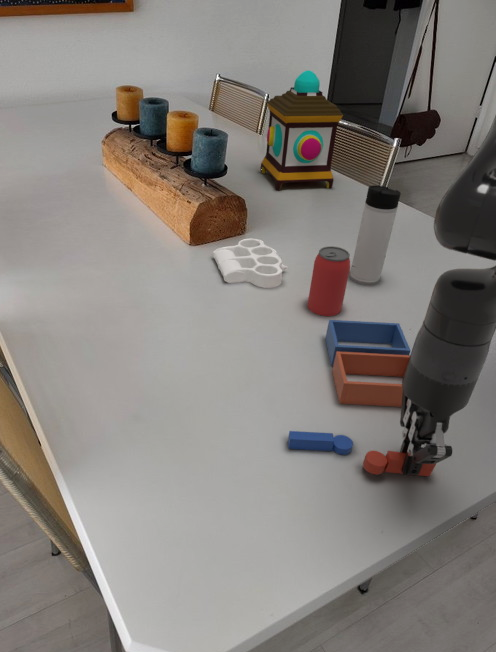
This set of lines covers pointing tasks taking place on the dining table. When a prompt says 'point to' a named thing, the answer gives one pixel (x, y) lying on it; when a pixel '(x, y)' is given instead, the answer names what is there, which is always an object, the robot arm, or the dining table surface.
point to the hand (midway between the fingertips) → (407, 466)
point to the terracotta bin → (369, 366)
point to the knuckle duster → (250, 263)
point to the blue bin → (365, 337)
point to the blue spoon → (319, 442)
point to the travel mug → (374, 234)
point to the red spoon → (390, 463)
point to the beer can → (329, 281)
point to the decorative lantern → (301, 134)
